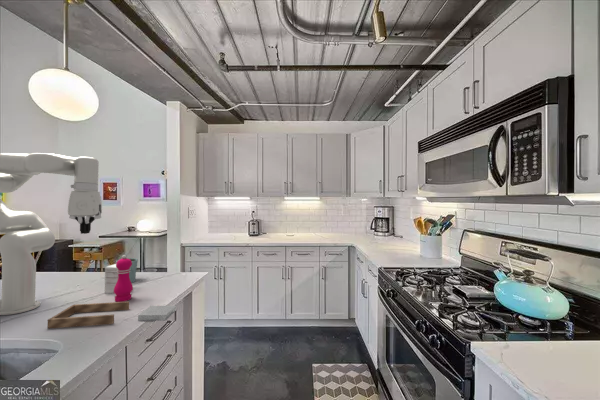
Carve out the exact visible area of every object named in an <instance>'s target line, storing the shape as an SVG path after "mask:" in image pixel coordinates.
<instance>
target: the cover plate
mask: <svg viewBox="0 0 600 400" xmlns="http://www.w3.org/2000/svg"><path fill="white" fill-rule="evenodd" d="M176 311H177V306H176V305H150V306H149V307H147V308H146V309H144V310H143V311H142V312H140V313H139V314H138V315H137V317H138V318H137V321H138V322H139V321H140V322H141V321H143V322H144V321H145V322H146V321H147V322H150V321H151V322H153V321H162V322H163V321H167V320H168V319H169V318H170V317H172V315H173V314H175V312H176Z"/></svg>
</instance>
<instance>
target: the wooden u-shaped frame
mask: <svg viewBox="0 0 600 400" xmlns="http://www.w3.org/2000/svg"><path fill="white" fill-rule="evenodd" d="M128 310H130V301H123V302H116V301H114V302H97V303H80V304H72V305H70V306H69V307H67V308H65V309H64V310H62V311H60V312H59V313H56V314H55V315H53V316H52V317H50V318H48V319H47V327H46V328H47V329H60V328H74V327H87V326H88V327H89V326H101V325H103V326H104V325H113V324H114V323H115V314H102V315H99V314H98V315H87V316H86V315H85V316H84V315H83V316H72V315H74V314H79V313H81V314H82V313H97V312H98V313H99V312H113V311H128Z"/></svg>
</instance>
